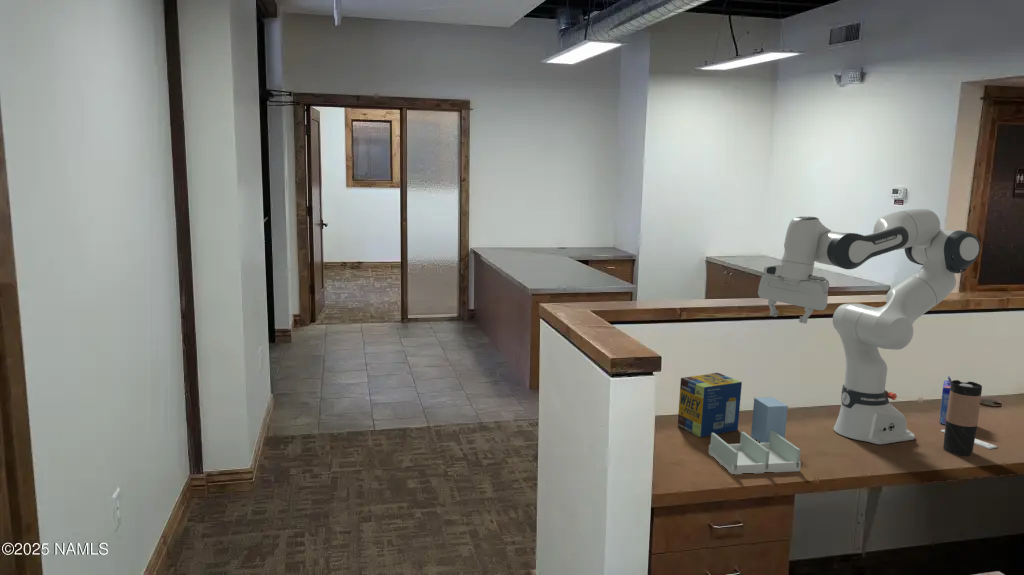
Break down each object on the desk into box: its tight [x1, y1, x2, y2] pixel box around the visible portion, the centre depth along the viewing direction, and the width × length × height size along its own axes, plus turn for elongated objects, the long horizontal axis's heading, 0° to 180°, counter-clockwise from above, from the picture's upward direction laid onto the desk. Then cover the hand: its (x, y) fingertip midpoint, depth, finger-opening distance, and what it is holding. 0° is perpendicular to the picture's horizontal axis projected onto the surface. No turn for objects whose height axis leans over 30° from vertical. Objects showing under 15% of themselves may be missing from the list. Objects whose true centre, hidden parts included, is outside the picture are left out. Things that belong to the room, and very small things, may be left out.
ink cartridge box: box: [939, 375, 953, 425], centre depth 230 cm, size 10×6×14 cm, turn 148°
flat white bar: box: [939, 429, 998, 450], centre depth 216 cm, size 5×15×1 cm, turn 23°
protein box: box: [677, 372, 743, 438], centre depth 218 cm, size 10×15×16 cm
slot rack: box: [708, 430, 802, 475], centre depth 194 cm, size 19×14×6 cm
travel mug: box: [943, 379, 983, 457], centre depth 205 cm, size 8×8×20 cm
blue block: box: [750, 396, 789, 443], centre depth 209 cm, size 6×8×12 cm
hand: (787, 319), depth 208 cm, fingers open, 8 cm apart
